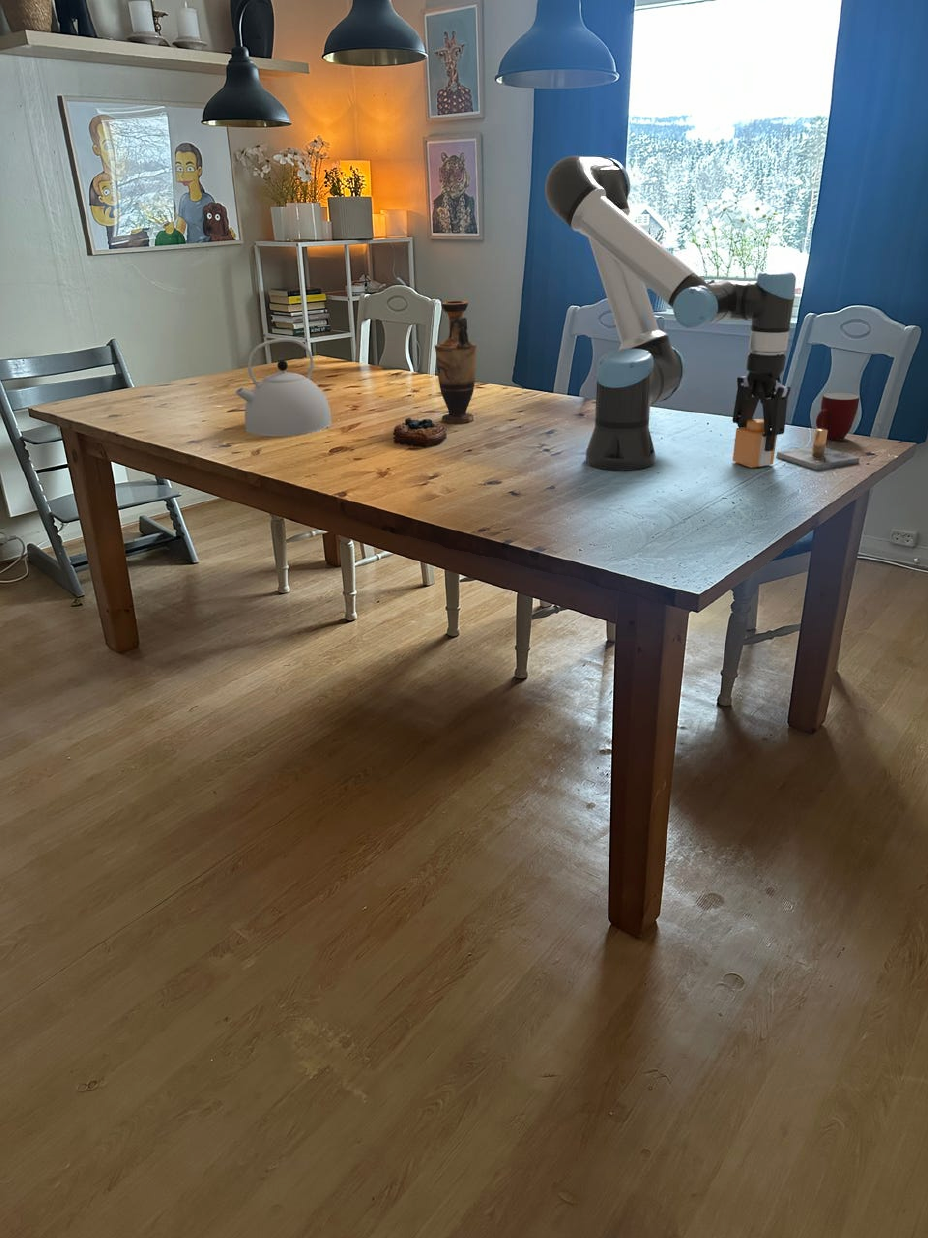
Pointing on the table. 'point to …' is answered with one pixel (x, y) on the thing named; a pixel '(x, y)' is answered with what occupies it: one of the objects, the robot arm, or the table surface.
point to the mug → (837, 414)
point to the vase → (456, 365)
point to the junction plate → (824, 460)
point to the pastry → (419, 433)
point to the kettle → (284, 401)
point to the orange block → (750, 443)
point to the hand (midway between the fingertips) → (753, 461)
